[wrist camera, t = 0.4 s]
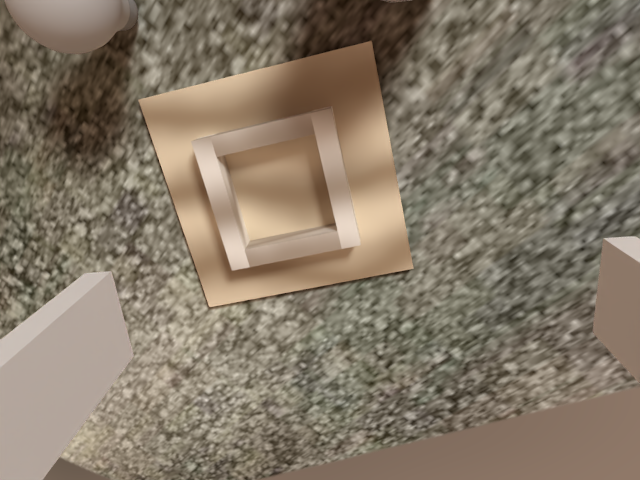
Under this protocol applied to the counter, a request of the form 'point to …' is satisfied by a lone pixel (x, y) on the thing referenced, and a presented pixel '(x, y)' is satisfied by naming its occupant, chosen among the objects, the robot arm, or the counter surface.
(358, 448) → the counter surface
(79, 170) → the counter surface
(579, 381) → the counter surface
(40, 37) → the lightbulb
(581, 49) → the counter surface
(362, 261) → the socket base
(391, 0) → the supplement can
